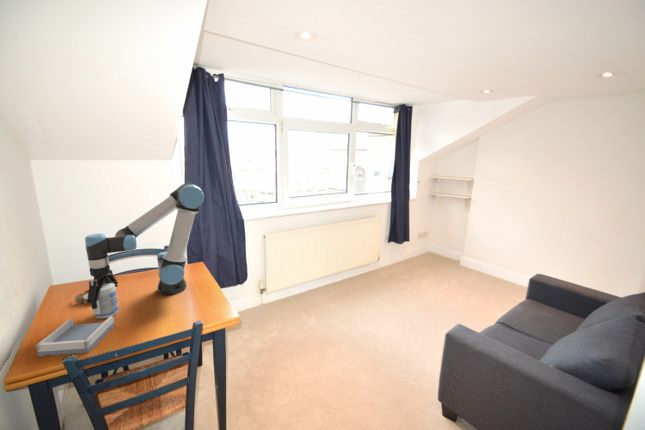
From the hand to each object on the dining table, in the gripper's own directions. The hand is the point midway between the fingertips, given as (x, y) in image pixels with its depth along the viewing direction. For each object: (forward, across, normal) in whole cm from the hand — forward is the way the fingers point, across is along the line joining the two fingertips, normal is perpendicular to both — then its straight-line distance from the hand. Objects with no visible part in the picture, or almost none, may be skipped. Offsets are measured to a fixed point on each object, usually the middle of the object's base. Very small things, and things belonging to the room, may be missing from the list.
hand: (105, 306), depth 138 cm
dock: (+4, +20, 0) cm, 20 cm away
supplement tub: (+4, 0, 0) cm, 5 cm away
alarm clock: (+5, -16, -16) cm, 23 cm away
